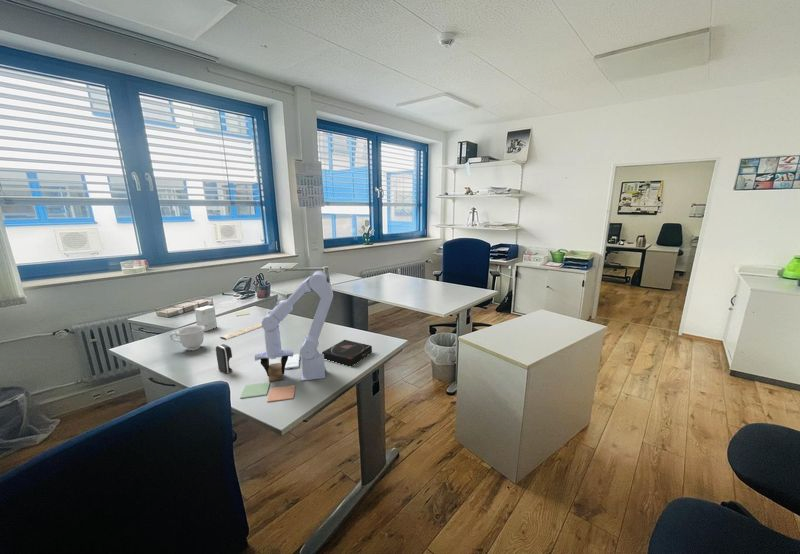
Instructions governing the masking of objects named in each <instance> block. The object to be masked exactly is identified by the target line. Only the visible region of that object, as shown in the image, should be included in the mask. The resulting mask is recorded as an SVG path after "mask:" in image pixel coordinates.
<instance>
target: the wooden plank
mask: <svg viewBox="0 0 800 554" xmlns="http://www.w3.org/2000/svg"><path fill="white" fill-rule="evenodd" d="M260 327H261V328H263V327H262V323H256V324H253V325H251V326H248V327H245V328H242V329H240V330H236V331H233V332H230V333H227V334H225V335H222V336H221V337H222V338H224V339H225V340H226V339H228V340H230V339H229V338H231V339H233V338H235V337H234V336H236V337H238V336H237V335H239V336H241V335H244V334H246V332H247V333H250V332H252V331H255V330H257V328H258V329H260ZM254 329H255V330H254ZM251 330H252V331H251ZM249 331H250V332H249ZM243 333H244V334H243ZM240 334H241V335H240ZM232 337H233V338H232Z"/></svg>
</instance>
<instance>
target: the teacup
mask: <svg viewBox="0 0 800 554" xmlns="http://www.w3.org/2000/svg"><path fill="white" fill-rule="evenodd" d="M204 329H205V327H204V326H199V325H198V326H197V325H190V326H186V327H183V328H180V329H178V330H177V331H176V332H175V331H173V332H171V333H170V334H169V338H170V340H171V341H173V342H178V343H180V344H181V345H182V347H184V348H186V350H187V351H189V350H192V351H196V350H199V349H200V348H201V345H202V344H203V343H204V337H205V336H204V333H205V332H204ZM173 335H175V336H176V337H179V339H176V338H174V337H173Z"/></svg>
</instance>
